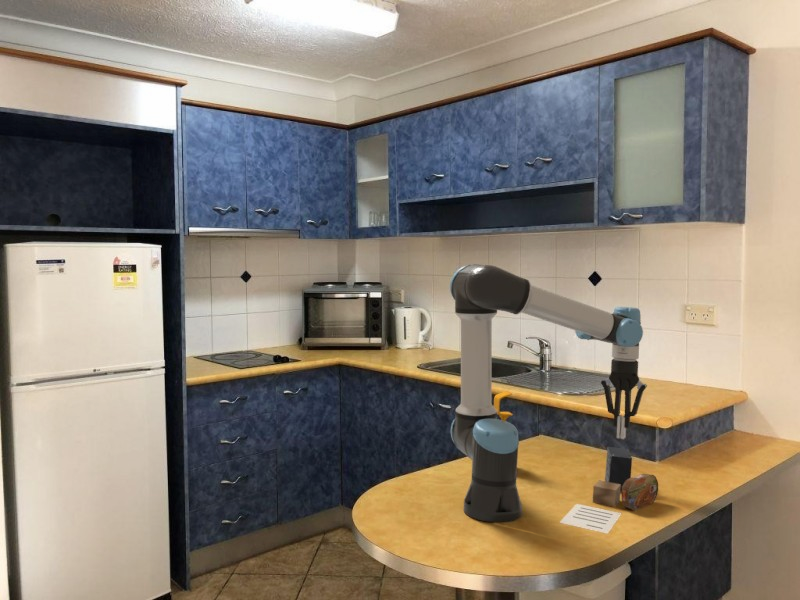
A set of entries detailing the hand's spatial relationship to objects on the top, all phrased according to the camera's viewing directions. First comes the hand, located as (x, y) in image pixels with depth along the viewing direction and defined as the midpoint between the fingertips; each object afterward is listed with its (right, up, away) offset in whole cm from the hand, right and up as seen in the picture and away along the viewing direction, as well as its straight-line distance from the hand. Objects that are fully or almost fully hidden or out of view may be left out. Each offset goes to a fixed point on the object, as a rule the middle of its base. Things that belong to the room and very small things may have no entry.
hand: (621, 437), depth 197 cm
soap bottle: (-33, -13, +14) cm, 39 cm away
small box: (-1, -15, +1) cm, 15 cm away
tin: (0, -16, -15) cm, 22 cm away
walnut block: (-8, -15, -13) cm, 22 cm away
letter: (-16, -16, -26) cm, 34 cm away
